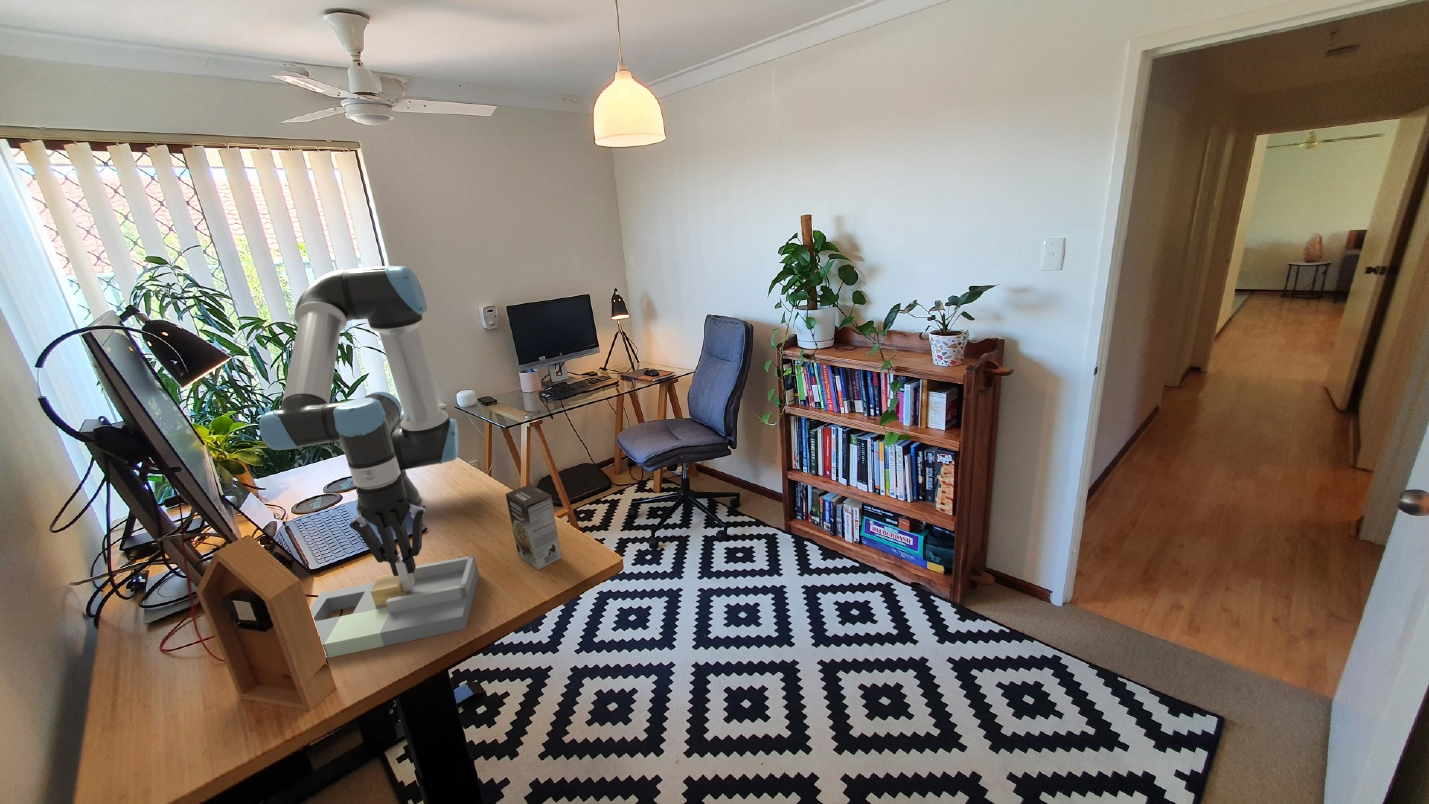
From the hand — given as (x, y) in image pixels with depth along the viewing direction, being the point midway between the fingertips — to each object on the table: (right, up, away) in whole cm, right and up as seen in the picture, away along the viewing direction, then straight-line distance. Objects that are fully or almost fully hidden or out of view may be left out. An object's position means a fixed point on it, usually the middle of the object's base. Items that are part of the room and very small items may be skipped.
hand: (409, 586), depth 108 cm
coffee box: (+21, +1, +15) cm, 26 cm away
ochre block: (-3, -2, 0) cm, 3 cm away
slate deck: (-2, -5, -2) cm, 6 cm away
